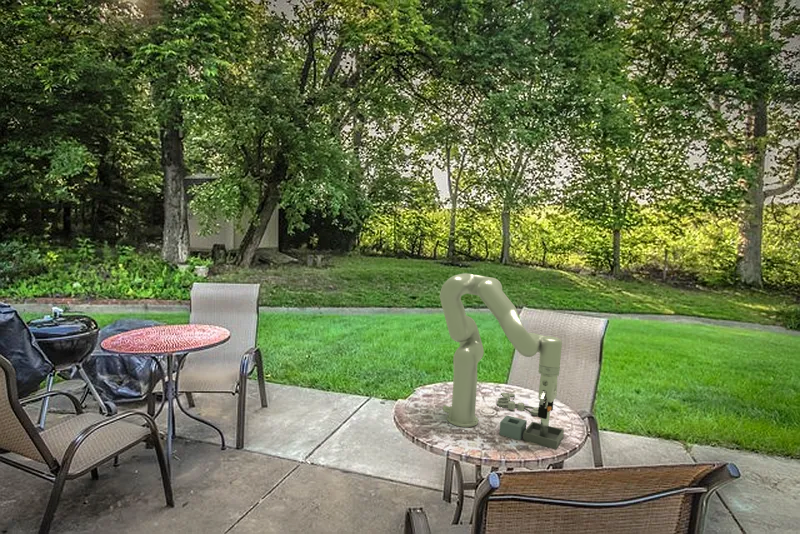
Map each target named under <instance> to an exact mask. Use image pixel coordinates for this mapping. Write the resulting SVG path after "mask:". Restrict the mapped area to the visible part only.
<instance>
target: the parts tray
mask: <svg viewBox="0 0 800 534" xmlns="http://www.w3.org/2000/svg"><path fill="white" fill-rule="evenodd" d="M564 431H565V430H564V429H563V428H558V427H555V426H551V425H549V427H548V438H545V437H541V436H539V434H540V422H539V423H538V422H536V421H531V422H530V423H529V425H528V426H526V430H525V431H524V433H523V437H522V441H525V442H529V443H532V444H536V445H539V446H543V447H546V448H550V449H554V450H557V449H558V448H559V446H560V443H561V442H562V440H563V439H564V433H565V432H564Z"/></svg>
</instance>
